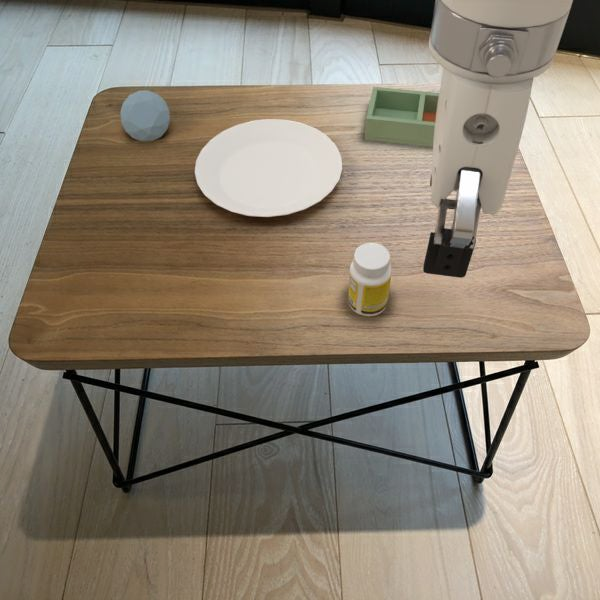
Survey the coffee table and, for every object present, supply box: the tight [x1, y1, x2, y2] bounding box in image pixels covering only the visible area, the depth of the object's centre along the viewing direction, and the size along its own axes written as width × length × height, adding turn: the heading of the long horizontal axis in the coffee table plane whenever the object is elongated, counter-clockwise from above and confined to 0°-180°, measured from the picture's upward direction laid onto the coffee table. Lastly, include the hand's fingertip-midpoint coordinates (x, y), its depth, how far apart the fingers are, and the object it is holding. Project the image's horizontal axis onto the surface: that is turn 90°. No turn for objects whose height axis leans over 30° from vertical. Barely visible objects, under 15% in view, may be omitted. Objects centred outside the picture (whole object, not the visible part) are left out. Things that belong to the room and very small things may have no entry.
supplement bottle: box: [347, 242, 393, 317], centre depth 71 cm, size 5×5×8 cm
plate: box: [194, 118, 344, 218], centre depth 88 cm, size 21×21×2 cm
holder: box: [363, 86, 439, 148], centre depth 93 cm, size 8×15×4 cm, turn 78°
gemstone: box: [119, 90, 171, 142], centre depth 95 cm, size 8×8×5 cm
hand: (446, 227), depth 50 cm, fingers open, 9 cm apart
